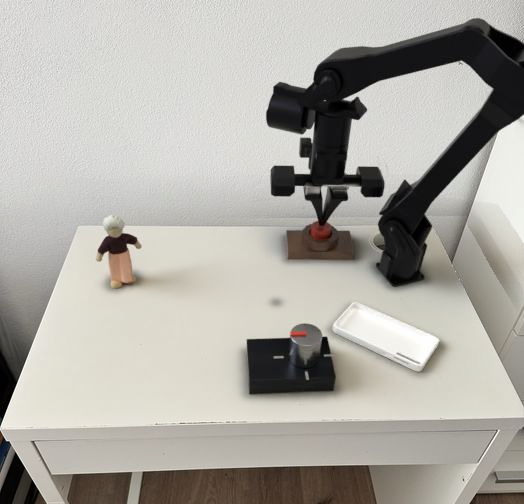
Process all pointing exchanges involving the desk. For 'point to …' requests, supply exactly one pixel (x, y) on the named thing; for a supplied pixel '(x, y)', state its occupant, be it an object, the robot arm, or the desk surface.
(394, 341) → the phone case
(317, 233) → the power button
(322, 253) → the control block
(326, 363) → the panel
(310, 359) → the hob knob
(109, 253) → the grandmother figurine
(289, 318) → the desk surface
